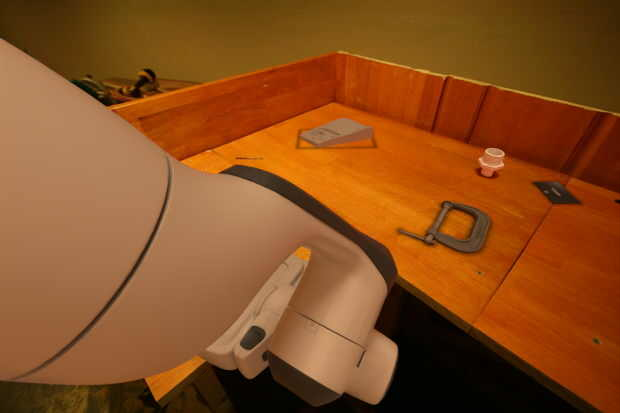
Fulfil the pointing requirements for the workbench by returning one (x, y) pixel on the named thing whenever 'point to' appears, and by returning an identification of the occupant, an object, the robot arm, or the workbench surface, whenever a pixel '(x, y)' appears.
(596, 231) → the workbench surface
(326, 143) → the ramp
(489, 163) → the pipe fitting
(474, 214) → the c clamp
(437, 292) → the workbench surface
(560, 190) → the solid state drive
